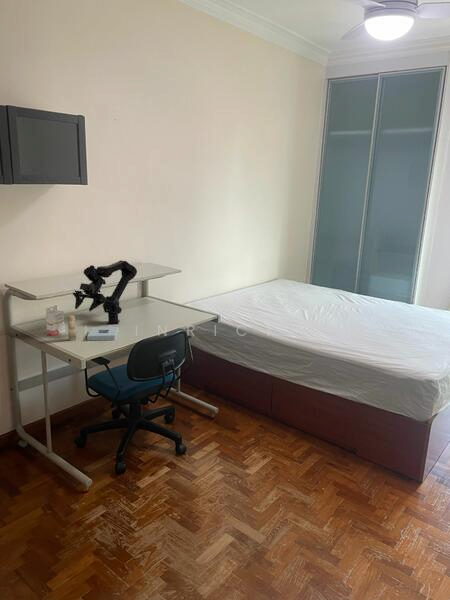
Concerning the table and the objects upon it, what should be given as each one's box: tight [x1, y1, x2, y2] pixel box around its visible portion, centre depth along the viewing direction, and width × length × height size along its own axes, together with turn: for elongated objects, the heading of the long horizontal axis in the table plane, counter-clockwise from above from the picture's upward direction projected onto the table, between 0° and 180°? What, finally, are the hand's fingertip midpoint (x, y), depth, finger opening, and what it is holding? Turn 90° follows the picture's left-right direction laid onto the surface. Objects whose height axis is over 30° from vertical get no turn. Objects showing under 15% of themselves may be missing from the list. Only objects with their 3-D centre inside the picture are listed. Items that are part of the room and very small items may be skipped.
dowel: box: [66, 315, 77, 342], centre depth 230 cm, size 4×4×12 cm
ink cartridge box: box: [45, 304, 66, 337], centre depth 239 cm, size 9×5×15 cm, turn 157°
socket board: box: [86, 326, 119, 341], centre depth 238 cm, size 14×14×2 cm
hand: (82, 309), depth 235 cm, fingers open, 9 cm apart
